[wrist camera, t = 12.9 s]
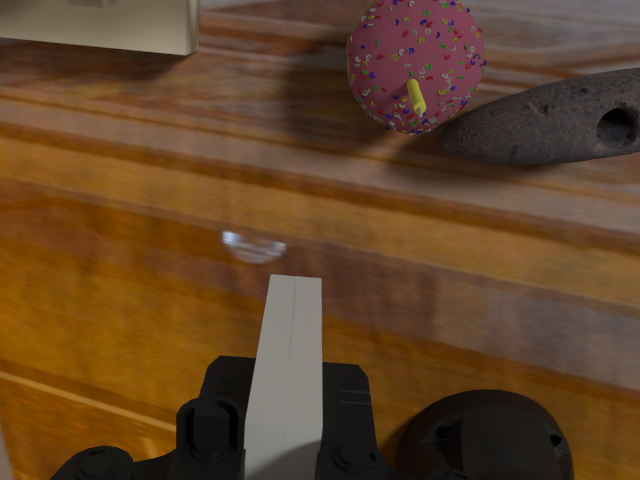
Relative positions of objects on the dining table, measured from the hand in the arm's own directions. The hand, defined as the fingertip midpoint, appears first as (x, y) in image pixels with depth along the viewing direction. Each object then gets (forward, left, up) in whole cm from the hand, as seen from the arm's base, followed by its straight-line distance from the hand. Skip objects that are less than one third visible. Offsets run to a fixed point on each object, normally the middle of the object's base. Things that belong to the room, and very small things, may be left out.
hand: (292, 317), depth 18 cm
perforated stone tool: (+3, -16, -27) cm, 31 cm away
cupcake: (+6, -6, -27) cm, 28 cm away
